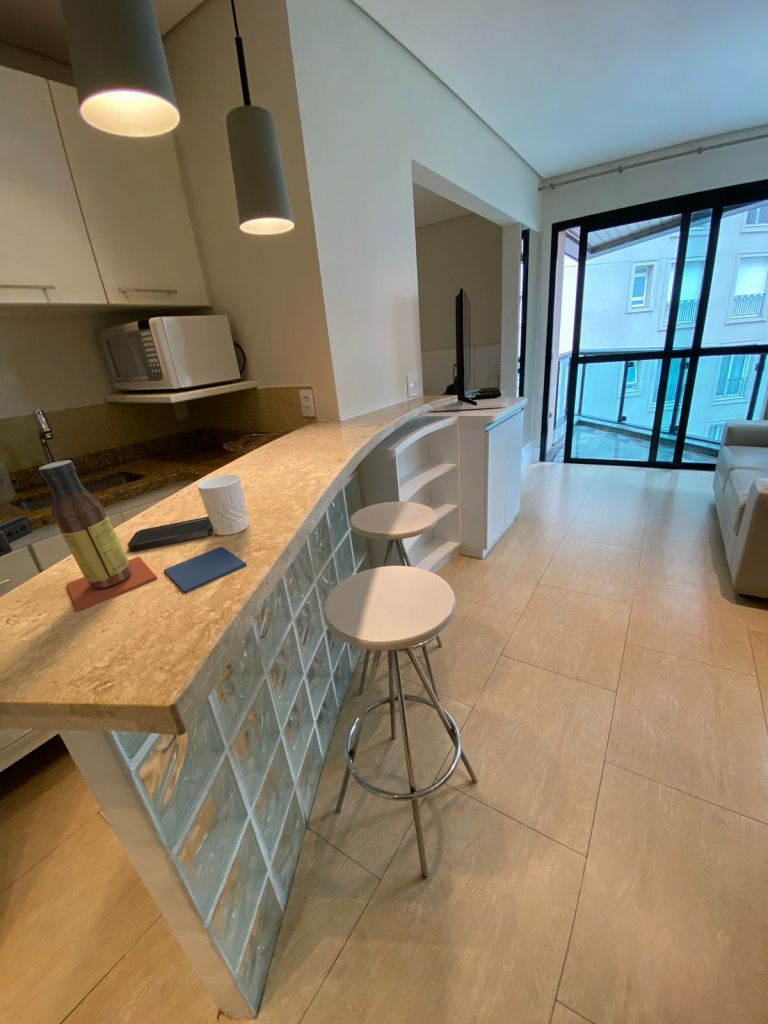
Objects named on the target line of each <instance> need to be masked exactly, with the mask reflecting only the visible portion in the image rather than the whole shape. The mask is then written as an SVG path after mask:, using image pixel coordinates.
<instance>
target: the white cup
mask: <svg viewBox="0 0 768 1024" xmlns="http://www.w3.org/2000/svg"><path fill="white" fill-rule="evenodd" d="M242 484H243V483H242V479H241V476H240V475H238V474H223V475H216V476H213V477H209V478H207V479H204V480H202V481H200V482H199V483H197V484H196V487H197V491H198V493H199V495H200V498H201V501H202V504H203V507H204V510H205V512H206V515H207V517H209V520H210V521H211V524H212V526H213V532H214V534H215V535H217V536H231V535H234V534H237V533H240V532H243V531H244V530H246V529H247V528H248V527H249V526H250V521H249V517H248V516H249V515H248V508H247V503H246V498H245V497H246V496H245V493H244V489H243V485H242Z"/></svg>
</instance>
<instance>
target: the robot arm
mask: <svg viewBox="0 0 768 1024" xmlns="http://www.w3.org/2000/svg"><path fill="white" fill-rule="evenodd" d="M33 530H34V529H33V526H32V524H31V522H30V520H29V518H28V517H27V516H17V517H14V518H12V519H10V520H8V521H5V522H3V523H1V524H0V558H1V557H4V556H6V555H8V554H10V553H12V552H13V547H11V543H13V542H15V541H17V540H19V539H22V538H24V537H25V536H28V535H30V534H32V532H33Z"/></svg>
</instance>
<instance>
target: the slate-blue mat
mask: <svg viewBox="0 0 768 1024" xmlns="http://www.w3.org/2000/svg"><path fill="white" fill-rule="evenodd" d="M245 566H247V562H245V561H244V560H242V559H241V558H240V557H238V556H236V555H235V554H234V553H232V552H231V551H230V550H228V549H226V547H224V546H222V545H221V546H218V547H216V548H213V549H211V550H209V551H206V552H203V553H201V554H198V555H197V556H194V557H191V558H188V559H187V560H184V561H182V562H179V563H176V564H174V565H172V566H169V567H166V568H164V569H163V571H164V573H165V574H166V575H167V576H168V577H169V578H170V579H171V580H172V581H173V583H174V584H175V585H176V586H177V587H178V588H179V589H180V590H181V591H182V592H183V593H184V594H186V593H189V592H191V591H193V590H195V589H197V588H200V587H201V586H203V585H206V584H208V583H210V582H212V581H215V580H216V579H219V578H221V577H224V576H226V575H228V574H231V573H233V572H235V571H237V570H240V569H242V568H244V567H245Z"/></svg>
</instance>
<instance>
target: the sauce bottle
mask: <svg viewBox="0 0 768 1024" xmlns="http://www.w3.org/2000/svg"><path fill="white" fill-rule="evenodd" d="M76 469H77V468H76V466H75V465H74V462H73V460H71V459H68V460H59V461H55V462H54V461H53V462H51V463H47V464H44V465H42V466H40V467H38V472H39V474H40V476H41V478H42V479H44V480H45V482H46V484H47V486H48V488H49V490H50V492H51V495H52V497H53V501H52V506H51V510H50V511H51V515H52V517H53V519H54V521H55V523H56V525H57V526H58V529H59V532H60V533H61V536H62V538H63V539H64V541H65V543H66V545H67V547H68V548H69V550H70V552H71V555H72V556H73V558H74V560H75V562H76V564H77V565H78V568H79V570H80V571H81V574H82V575H83V577H85V579H86V581H88V583H89V584H90V586H92V587H93V588H95V589H102V588H106V587H110V586H114V585H116V584H119V583H121V582H122V581H124V580H126V579H127V578H128V577H129V576H130V575H131V572H132V571H131V567H130V565H129V561H128V560H129V559H128V557H127V554H126V552H125V550H124V549H123V546H122V544H121V542H120V539H119V537H118V536H117V534H116V532H115V529H114V527H113V525H112V523H111V520H110V518H109V516H108V514H107V513H106V512H105V510H104V507H102V504H101V501H100V500H99V498H97V497H96V496H94V494H92V493H91V492H89V491H88V490H87V489H86V488H85V487H84V485H83V484H82V483H81V480H80V479H79V476H78V473H77V471H76Z"/></svg>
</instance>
